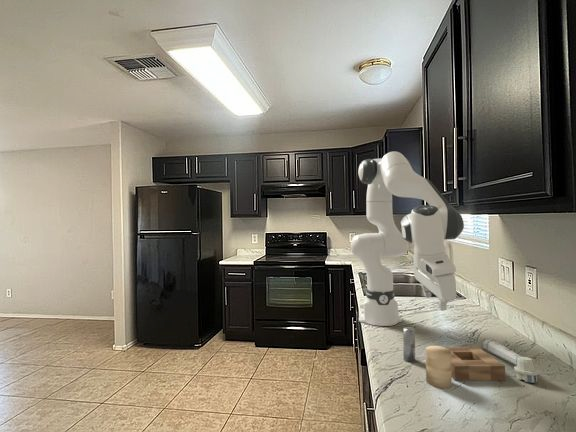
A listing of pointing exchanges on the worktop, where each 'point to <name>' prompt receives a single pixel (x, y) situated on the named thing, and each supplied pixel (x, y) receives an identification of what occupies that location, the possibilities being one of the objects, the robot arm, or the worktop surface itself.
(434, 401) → the worktop surface
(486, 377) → the socket block
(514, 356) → the toothbrush head
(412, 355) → the cylinder
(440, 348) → the fat post
